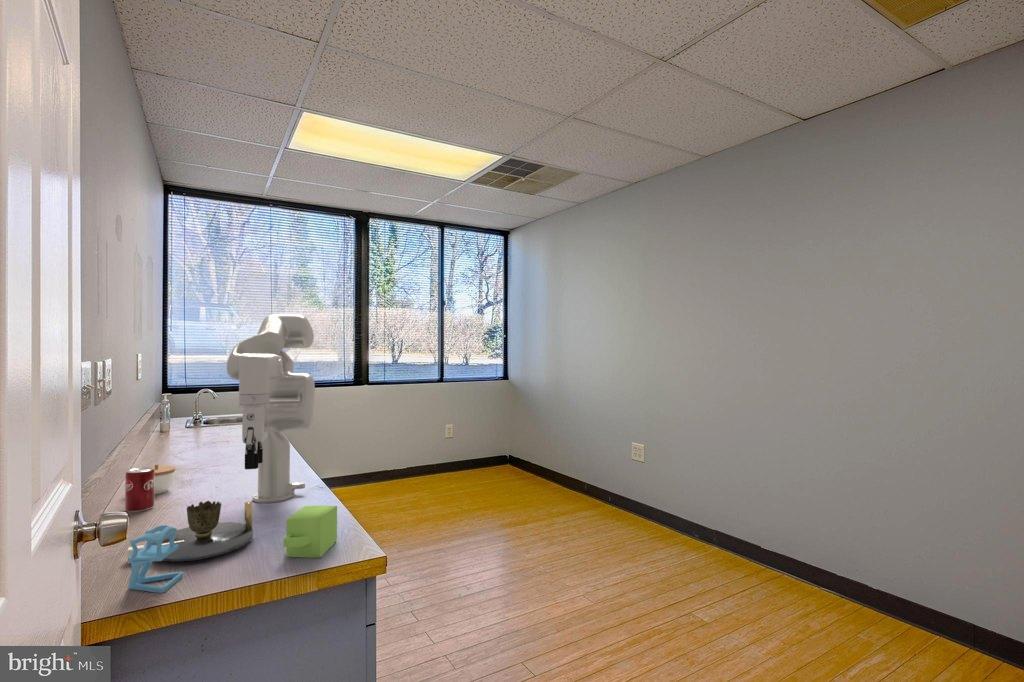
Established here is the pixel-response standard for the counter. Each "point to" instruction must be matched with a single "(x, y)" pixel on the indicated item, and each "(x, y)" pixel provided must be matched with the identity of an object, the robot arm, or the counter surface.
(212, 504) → the cup
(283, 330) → the robot arm
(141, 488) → the soda can
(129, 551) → the turntable base
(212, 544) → the turntable
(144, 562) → the chair
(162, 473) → the lidded jar
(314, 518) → the gearbox
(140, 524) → the counter surface
